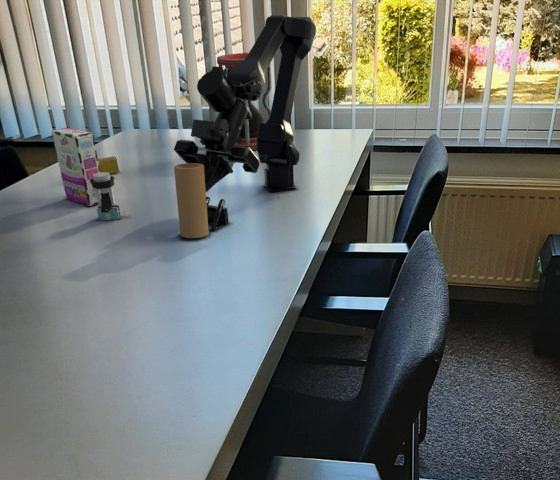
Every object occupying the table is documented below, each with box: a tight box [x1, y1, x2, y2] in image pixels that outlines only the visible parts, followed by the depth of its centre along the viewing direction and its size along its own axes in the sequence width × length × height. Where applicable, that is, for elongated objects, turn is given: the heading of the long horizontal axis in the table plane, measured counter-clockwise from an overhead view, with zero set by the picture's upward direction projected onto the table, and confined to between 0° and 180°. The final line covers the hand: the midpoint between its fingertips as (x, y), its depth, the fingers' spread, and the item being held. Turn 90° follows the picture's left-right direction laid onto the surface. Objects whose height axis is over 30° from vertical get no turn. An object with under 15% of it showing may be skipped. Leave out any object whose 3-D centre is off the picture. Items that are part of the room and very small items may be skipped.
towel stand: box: [206, 196, 230, 232], centre depth 134 cm, size 5×6×6 cm
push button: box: [90, 172, 128, 221], centre depth 140 cm, size 7×5×10 cm
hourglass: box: [216, 52, 273, 151], centre depth 188 cm, size 16×16×25 cm
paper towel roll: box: [173, 162, 210, 239], centre depth 128 cm, size 14×6×14 cm
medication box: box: [98, 155, 121, 175], centre depth 171 cm, size 12×3×4 cm, turn 116°
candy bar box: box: [51, 127, 101, 207], centre depth 150 cm, size 11×5×16 cm, turn 47°
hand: (202, 192), depth 130 cm, fingers closed
